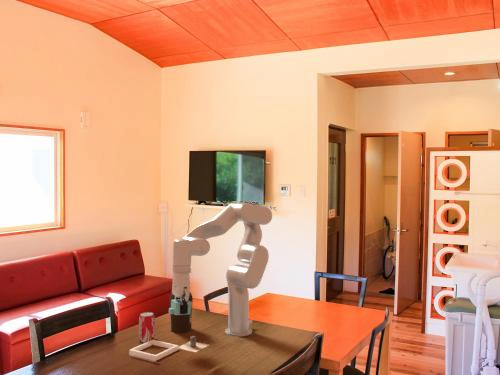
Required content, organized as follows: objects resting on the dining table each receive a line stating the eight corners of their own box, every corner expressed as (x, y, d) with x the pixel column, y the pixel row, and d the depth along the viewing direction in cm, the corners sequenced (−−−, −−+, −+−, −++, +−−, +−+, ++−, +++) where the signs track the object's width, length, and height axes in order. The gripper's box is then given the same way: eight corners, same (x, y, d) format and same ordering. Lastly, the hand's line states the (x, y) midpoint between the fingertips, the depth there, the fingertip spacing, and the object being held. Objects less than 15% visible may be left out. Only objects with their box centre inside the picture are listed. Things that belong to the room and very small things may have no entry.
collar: (185, 310, 204) (185, 298, 205) (190, 314, 199) (190, 302, 199) (166, 311, 201) (167, 299, 201) (171, 315, 195) (172, 303, 195)
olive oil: (170, 335, 218) (170, 281, 218) (169, 328, 229) (169, 276, 228) (193, 334, 221) (193, 280, 220) (191, 327, 231) (191, 275, 231)
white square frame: (152, 345, 206) (152, 339, 206) (178, 351, 199) (178, 345, 199) (129, 355, 194) (129, 349, 194) (156, 362, 187) (156, 356, 187)
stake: (190, 342, 209) (190, 331, 209) (209, 346, 204) (209, 335, 204) (176, 349, 201) (176, 338, 201) (195, 354, 196) (195, 342, 196)
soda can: (151, 344, 207) (151, 316, 207) (136, 343, 209) (135, 315, 209) (157, 338, 214) (157, 312, 214) (142, 337, 216) (142, 311, 215)
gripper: (167, 266, 206) (166, 307, 206) (179, 272, 191) (178, 317, 191) (183, 265, 210) (182, 306, 210) (197, 271, 194) (196, 316, 194)
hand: (181, 311), depth 200 cm, fingers closed on collar, 6 cm apart
